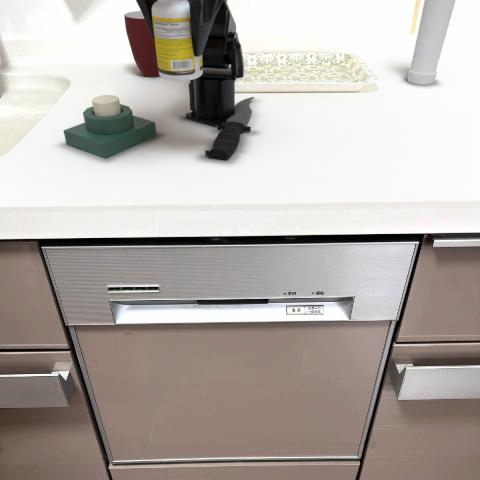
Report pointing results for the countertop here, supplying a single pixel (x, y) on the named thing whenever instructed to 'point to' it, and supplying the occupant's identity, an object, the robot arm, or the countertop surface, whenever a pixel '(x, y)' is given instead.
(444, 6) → the white tall cylinder
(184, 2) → the supplement bottle
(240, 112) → the knife
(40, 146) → the countertop surface
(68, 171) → the countertop surface
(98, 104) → the cream short cylinder
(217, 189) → the countertop surface
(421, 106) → the countertop surface
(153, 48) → the mug
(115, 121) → the green peg holder
